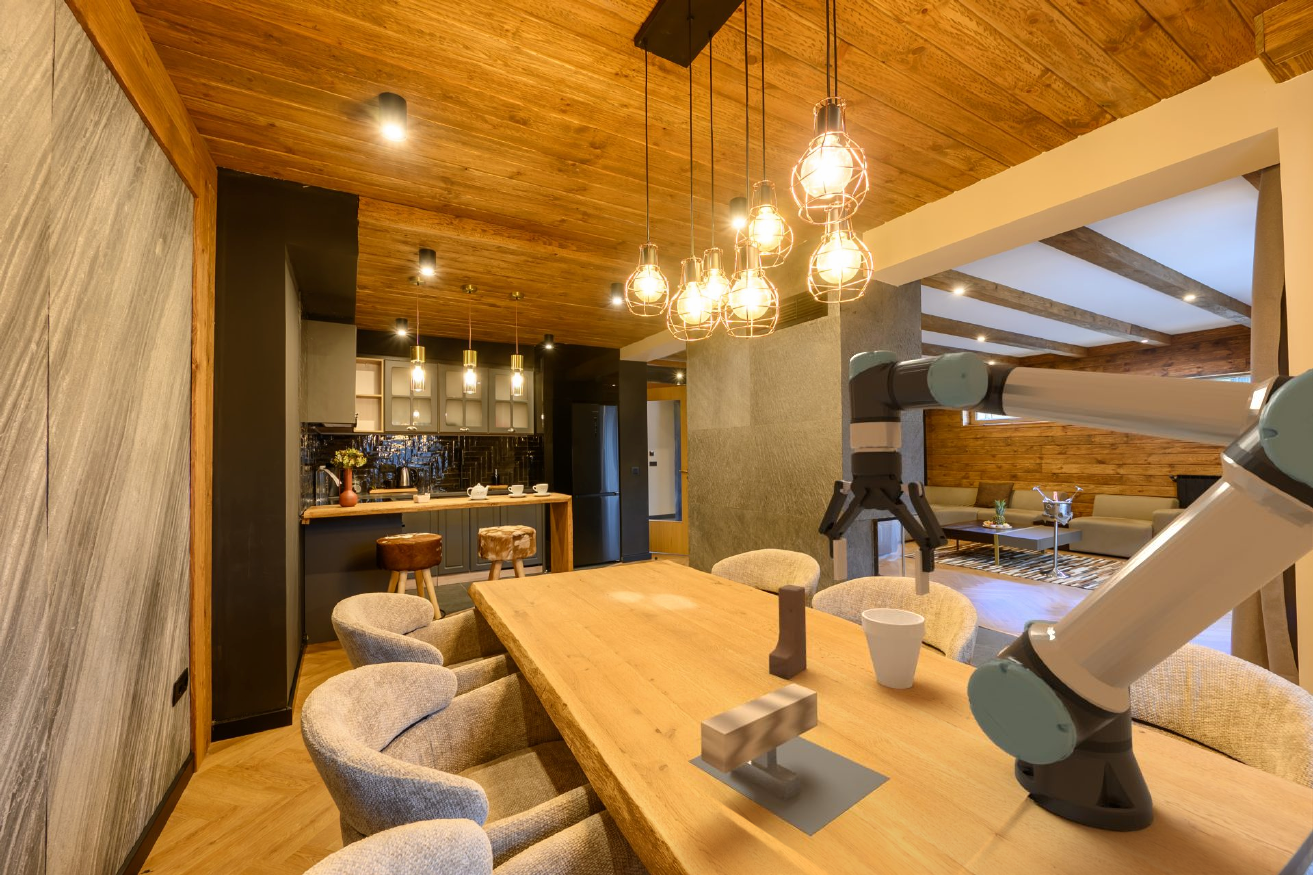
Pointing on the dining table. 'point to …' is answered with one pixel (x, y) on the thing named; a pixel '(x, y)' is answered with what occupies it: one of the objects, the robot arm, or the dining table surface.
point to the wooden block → (790, 634)
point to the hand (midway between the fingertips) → (879, 586)
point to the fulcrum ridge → (771, 776)
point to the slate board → (808, 784)
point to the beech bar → (757, 727)
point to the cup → (894, 644)
